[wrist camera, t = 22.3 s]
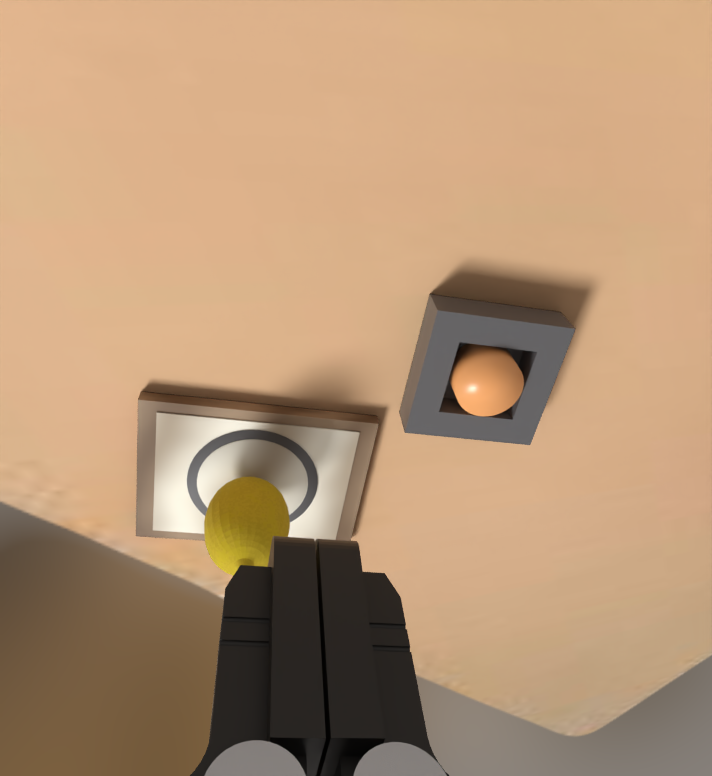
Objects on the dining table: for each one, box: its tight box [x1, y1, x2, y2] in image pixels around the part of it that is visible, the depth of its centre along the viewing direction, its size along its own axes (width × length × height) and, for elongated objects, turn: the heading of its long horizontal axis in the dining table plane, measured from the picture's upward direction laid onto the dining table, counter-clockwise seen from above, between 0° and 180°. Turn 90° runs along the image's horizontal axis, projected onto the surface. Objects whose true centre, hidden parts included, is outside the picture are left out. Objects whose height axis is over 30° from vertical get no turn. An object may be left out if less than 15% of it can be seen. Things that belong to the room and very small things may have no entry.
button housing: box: [399, 294, 575, 445], centre depth 42 cm, size 9×9×2 cm
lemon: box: [204, 477, 290, 575], centre depth 42 cm, size 6×6×8 cm
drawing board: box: [136, 392, 379, 541], centre depth 46 cm, size 16×12×1 cm
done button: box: [449, 343, 524, 416], centre depth 42 cm, size 4×4×2 cm
